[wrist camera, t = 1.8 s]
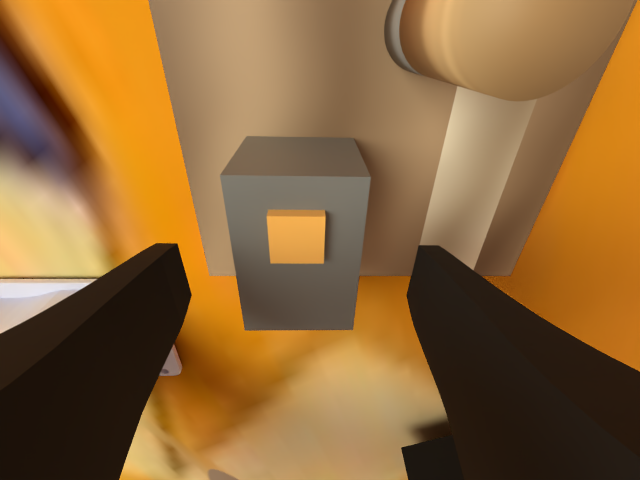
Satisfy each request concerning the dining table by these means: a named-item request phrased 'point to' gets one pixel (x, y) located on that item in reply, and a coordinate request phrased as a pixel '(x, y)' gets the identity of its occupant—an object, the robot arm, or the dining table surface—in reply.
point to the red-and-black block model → (433, 460)
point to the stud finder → (296, 230)
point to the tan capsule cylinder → (502, 42)
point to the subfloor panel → (363, 126)
